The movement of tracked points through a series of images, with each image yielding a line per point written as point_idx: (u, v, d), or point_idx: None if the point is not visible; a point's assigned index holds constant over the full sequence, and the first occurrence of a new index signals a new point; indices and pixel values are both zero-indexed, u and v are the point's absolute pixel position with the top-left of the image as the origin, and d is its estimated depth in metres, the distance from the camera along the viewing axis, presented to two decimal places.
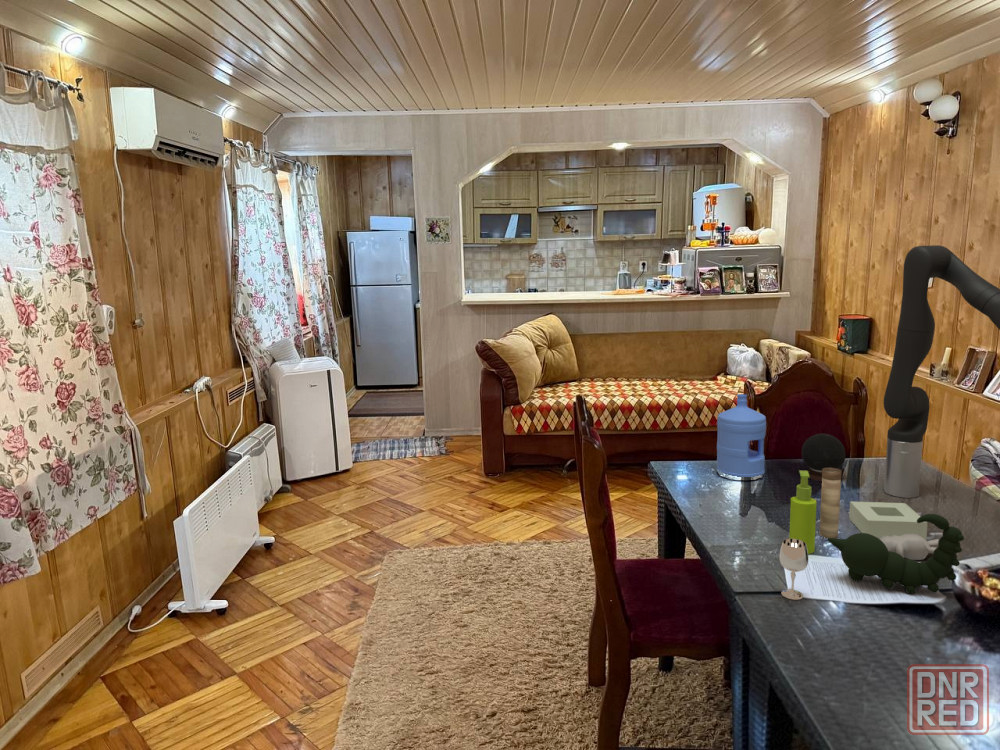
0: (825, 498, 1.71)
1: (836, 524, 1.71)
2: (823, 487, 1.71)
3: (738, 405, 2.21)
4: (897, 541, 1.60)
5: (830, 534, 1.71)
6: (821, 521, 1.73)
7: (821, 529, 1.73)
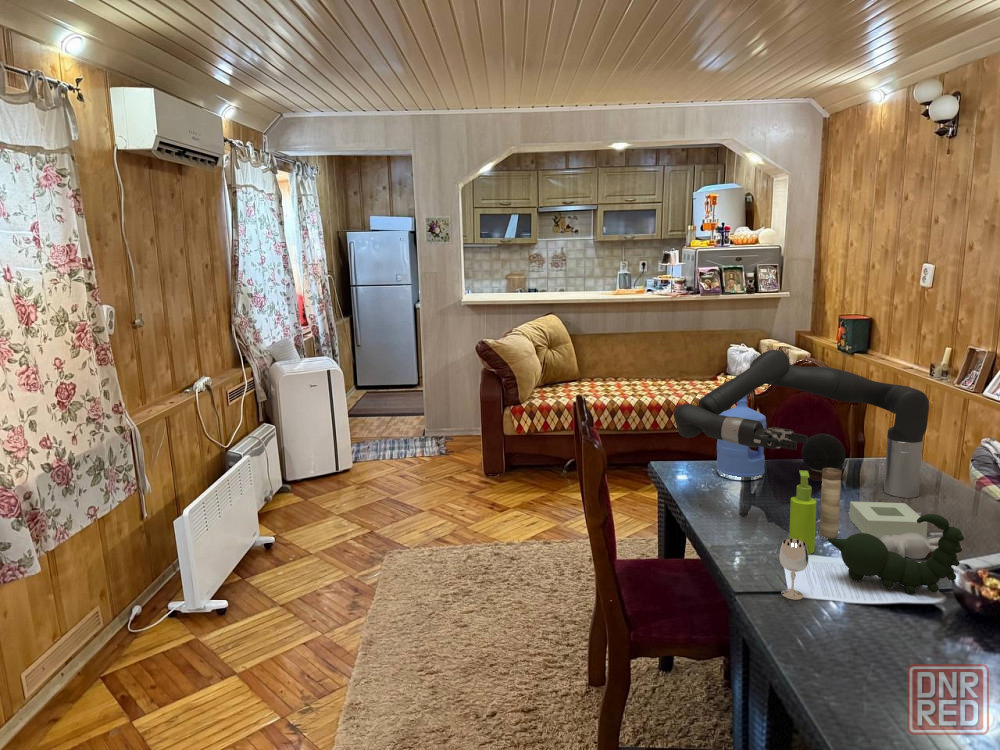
0: (825, 498, 1.71)
1: (836, 524, 1.71)
2: (823, 487, 1.71)
3: (738, 405, 2.21)
4: (898, 540, 1.60)
5: (830, 534, 1.71)
6: (821, 521, 1.73)
7: (821, 529, 1.73)
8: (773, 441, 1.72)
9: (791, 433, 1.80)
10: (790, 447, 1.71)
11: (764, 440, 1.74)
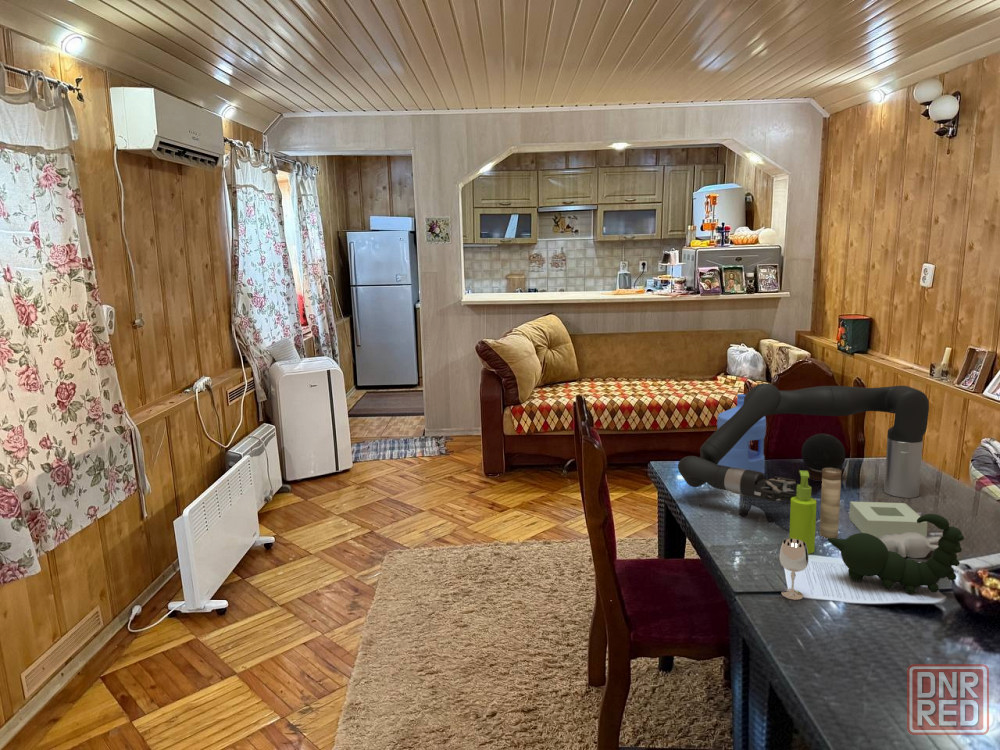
0: (825, 498, 1.71)
1: (836, 524, 1.71)
2: (823, 487, 1.71)
3: (738, 405, 2.21)
4: (899, 540, 1.60)
5: (830, 534, 1.71)
6: (821, 521, 1.73)
7: (821, 529, 1.73)
8: (772, 494, 1.76)
9: (793, 483, 1.83)
10: (790, 499, 1.74)
11: (764, 493, 1.78)
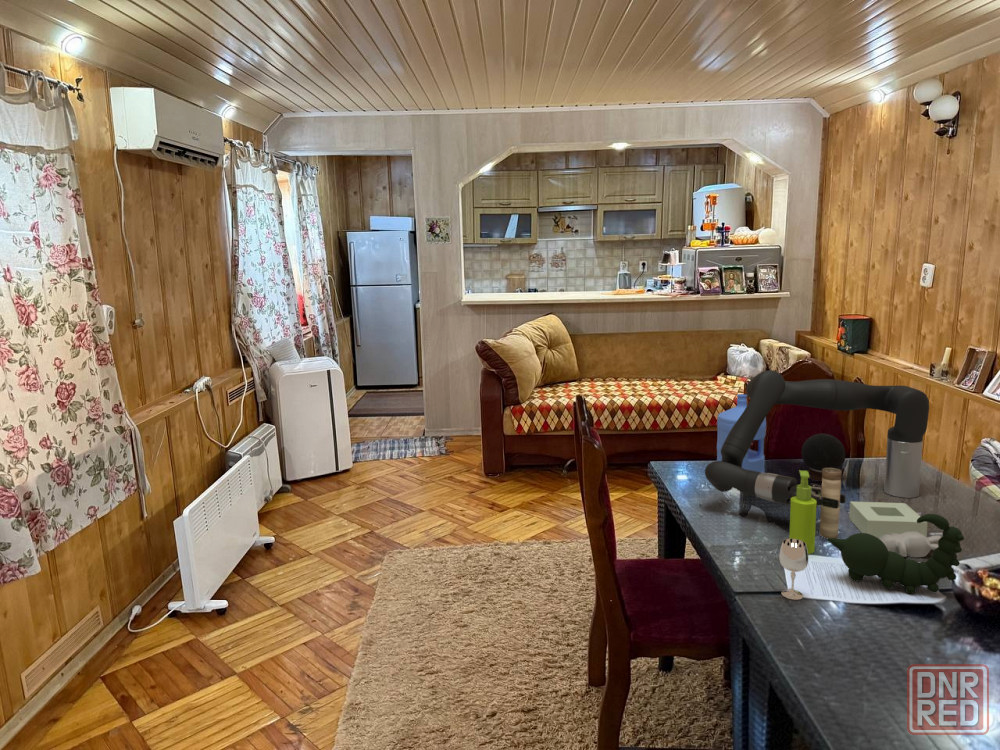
0: None
1: (836, 524, 1.71)
2: (823, 487, 1.71)
3: (738, 405, 2.21)
4: (899, 539, 1.61)
5: (830, 534, 1.71)
6: (821, 521, 1.73)
7: (821, 529, 1.73)
8: None
9: None
10: (832, 505, 1.68)
11: None
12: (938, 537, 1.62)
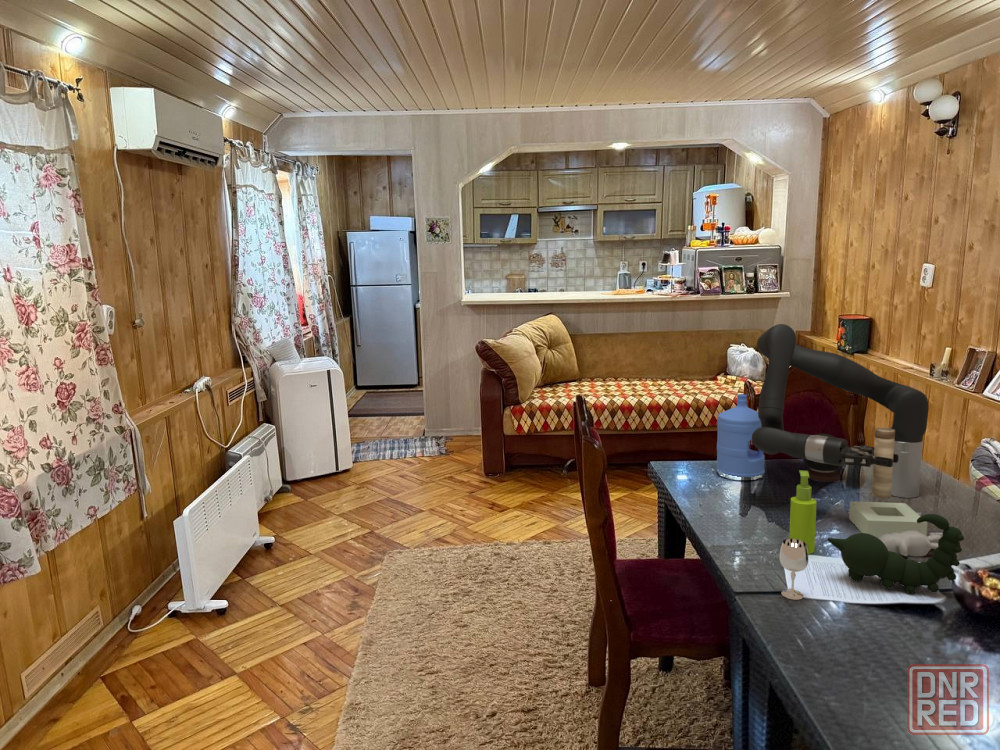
0: None
1: (889, 483, 1.72)
2: (876, 446, 1.72)
3: (738, 405, 2.21)
4: (899, 539, 1.61)
5: (884, 493, 1.72)
6: (874, 481, 1.73)
7: (874, 489, 1.74)
8: (868, 459, 1.70)
9: None
10: (886, 464, 1.69)
11: (858, 459, 1.71)
12: (937, 536, 1.62)
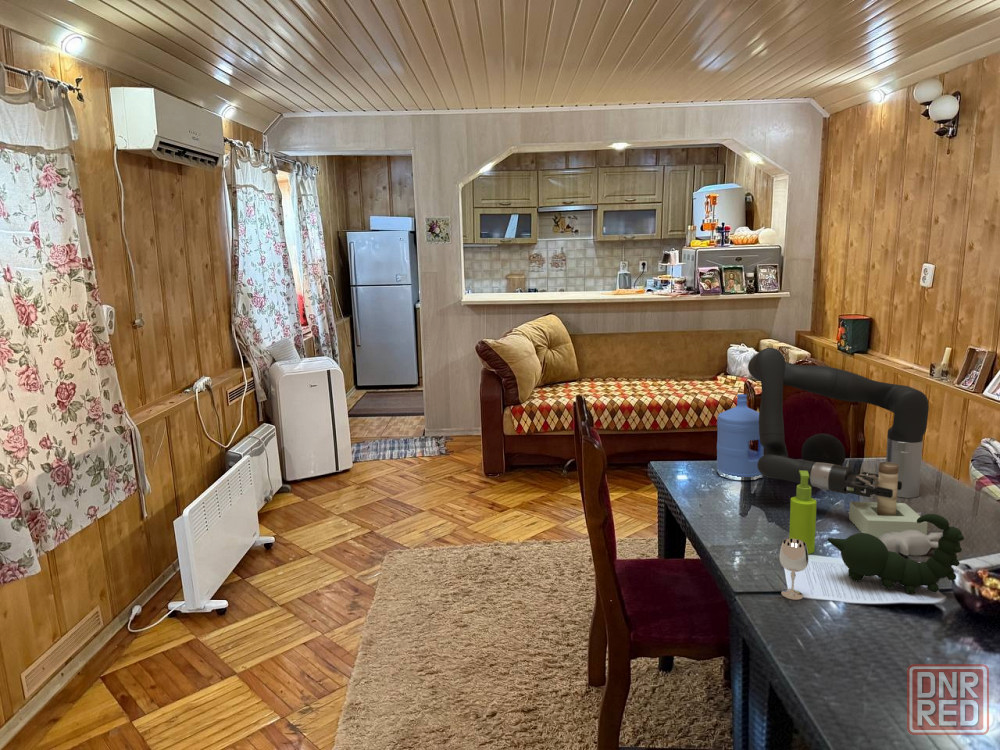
0: None
1: None
2: (880, 481, 1.74)
3: (738, 405, 2.21)
4: (900, 538, 1.61)
5: None
6: (878, 515, 1.75)
7: None
8: (868, 489, 1.72)
9: None
10: (886, 495, 1.70)
11: (858, 488, 1.73)
12: (936, 535, 1.63)
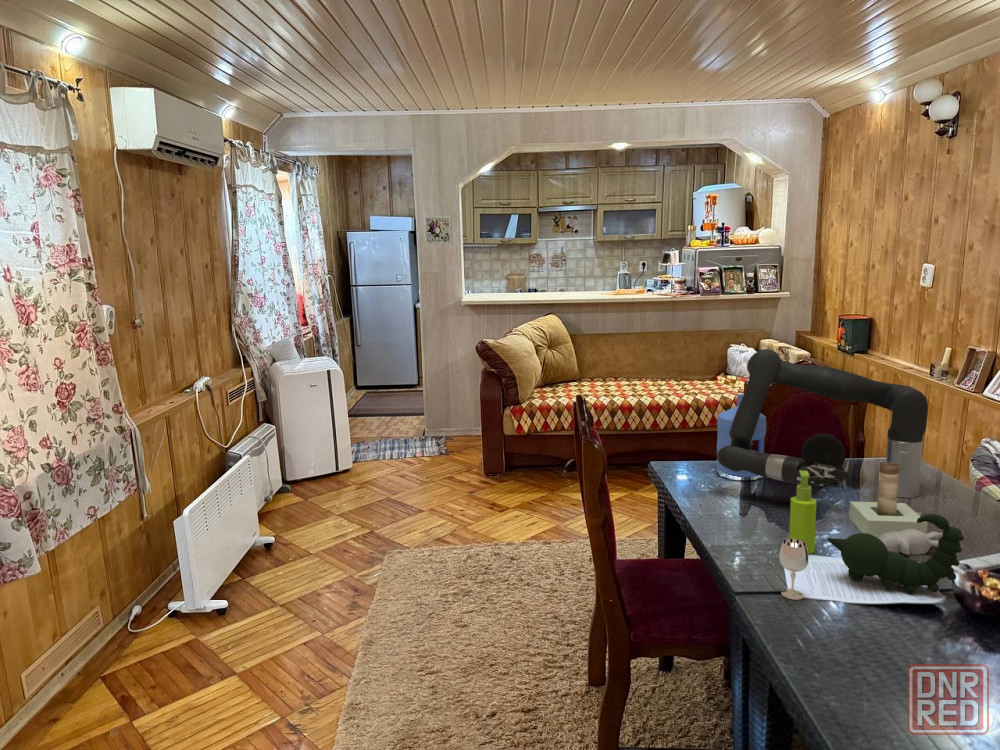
0: (883, 492, 1.74)
1: None
2: (881, 481, 1.74)
3: (738, 405, 2.21)
4: (900, 537, 1.62)
5: None
6: (878, 515, 1.75)
7: None
8: (815, 479, 1.81)
9: (833, 470, 1.88)
10: (832, 484, 1.80)
11: None
12: (935, 533, 1.64)
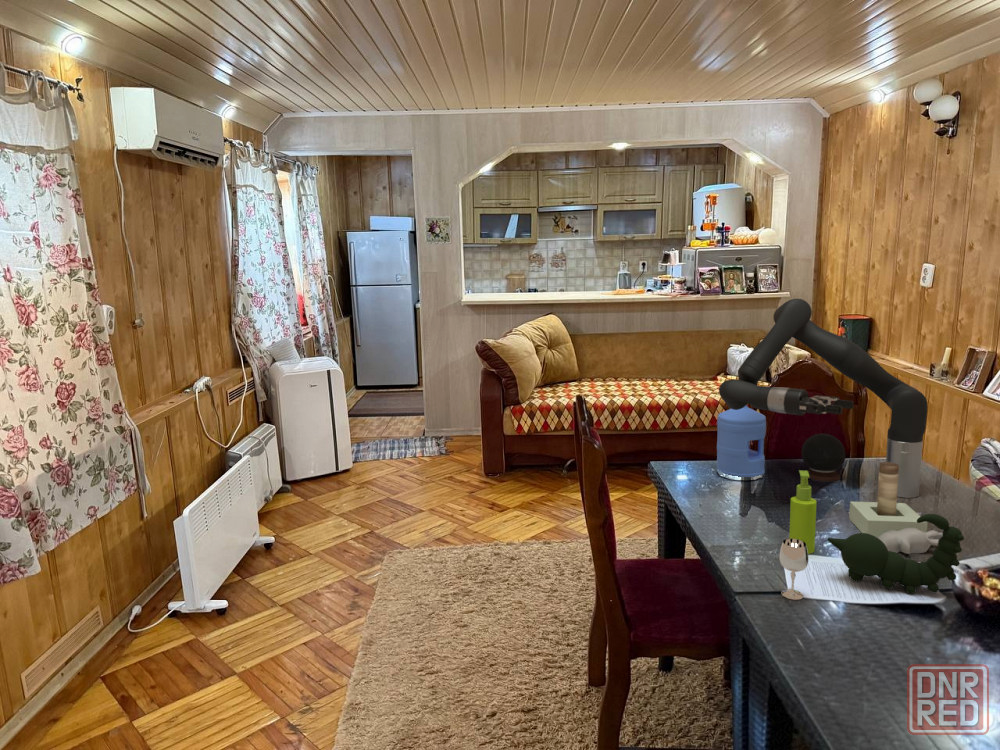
0: (883, 492, 1.74)
1: None
2: (880, 481, 1.74)
3: None
4: (900, 536, 1.62)
5: None
6: (878, 515, 1.75)
7: None
8: (818, 406, 1.78)
9: (837, 400, 1.85)
10: (836, 411, 1.76)
11: (809, 406, 1.79)
12: (934, 532, 1.65)
